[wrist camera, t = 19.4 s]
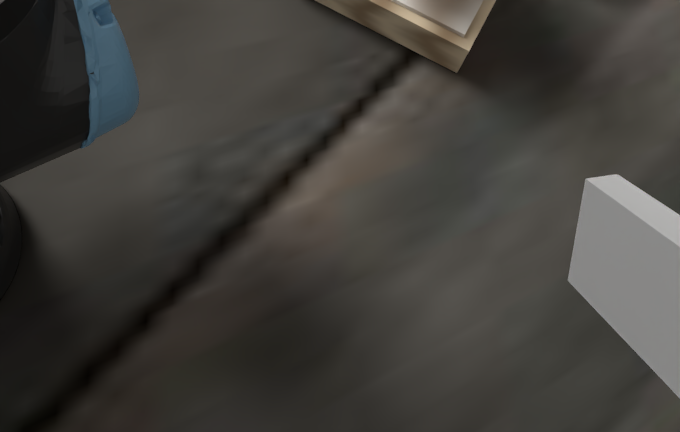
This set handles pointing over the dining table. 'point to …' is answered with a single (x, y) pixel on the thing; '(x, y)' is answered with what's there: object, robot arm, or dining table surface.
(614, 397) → the dining table surface
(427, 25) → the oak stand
